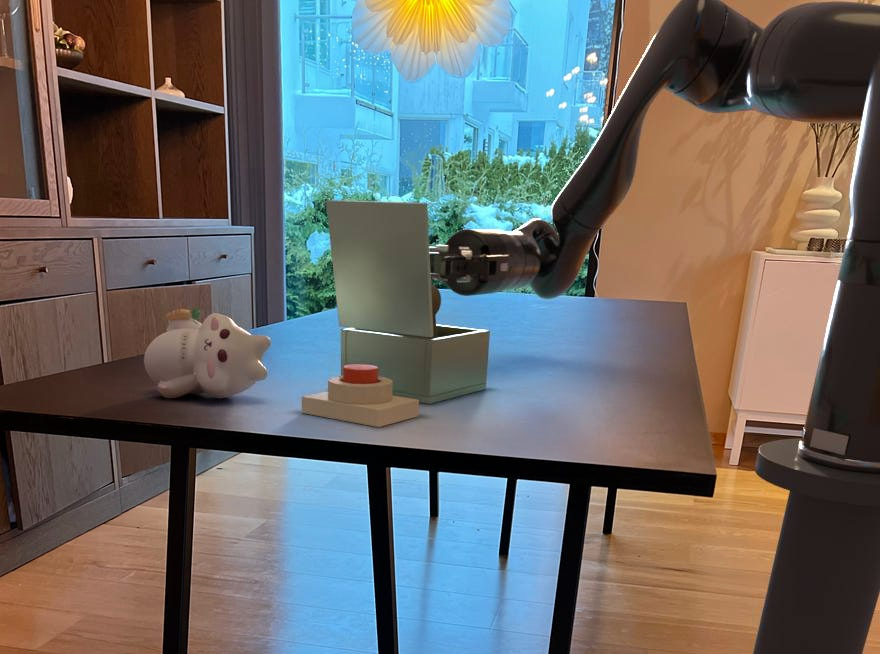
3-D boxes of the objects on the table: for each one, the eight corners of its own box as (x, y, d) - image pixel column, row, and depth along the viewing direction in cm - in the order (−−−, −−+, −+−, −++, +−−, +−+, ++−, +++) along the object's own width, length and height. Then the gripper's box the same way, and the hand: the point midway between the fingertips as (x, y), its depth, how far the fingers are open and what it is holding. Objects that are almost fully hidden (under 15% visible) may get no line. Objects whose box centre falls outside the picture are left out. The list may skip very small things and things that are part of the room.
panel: (418, 416, 93) (419, 382, 92) (379, 427, 88) (379, 391, 87) (343, 403, 99) (343, 370, 97) (301, 412, 93) (301, 378, 92)
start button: (384, 384, 92) (385, 366, 92) (363, 388, 90) (364, 370, 89) (357, 380, 94) (357, 362, 94) (335, 384, 92) (335, 366, 91)
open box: (401, 376, 115) (403, 320, 112) (486, 389, 109) (490, 330, 106) (340, 389, 106) (340, 329, 103) (429, 404, 99) (432, 340, 97)
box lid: (329, 199, 96) (325, 200, 95) (427, 202, 89) (424, 203, 89) (342, 325, 103) (338, 326, 103) (433, 336, 97) (430, 337, 96)
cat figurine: (131, 302, 97) (257, 293, 92) (171, 336, 105) (289, 328, 100) (122, 387, 96) (248, 381, 91) (162, 414, 104) (281, 410, 99)
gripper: (437, 227, 114) (360, 226, 102) (537, 231, 107) (467, 231, 95) (434, 290, 118) (359, 296, 105) (531, 298, 110) (463, 306, 98)
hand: (411, 265), depth 100 cm, fingers open, 8 cm apart
